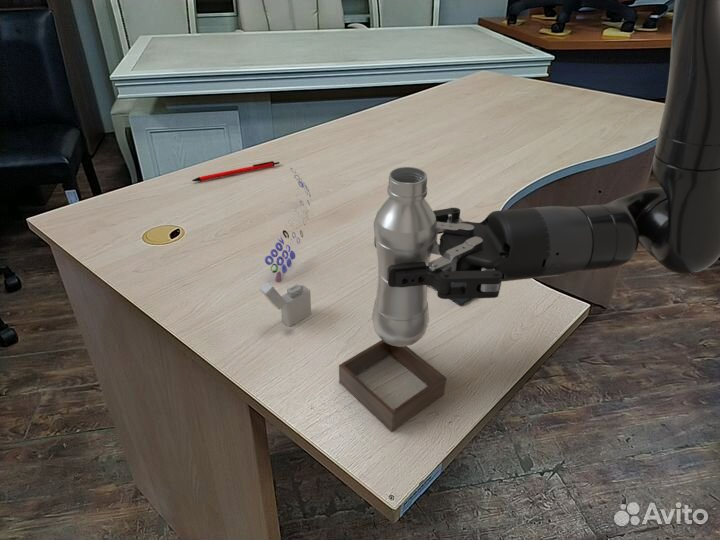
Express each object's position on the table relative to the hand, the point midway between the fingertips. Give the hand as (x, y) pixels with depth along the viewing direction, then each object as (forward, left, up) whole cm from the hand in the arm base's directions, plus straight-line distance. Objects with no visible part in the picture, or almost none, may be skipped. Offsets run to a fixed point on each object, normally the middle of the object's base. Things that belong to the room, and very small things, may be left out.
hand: (381, 257), depth 54 cm
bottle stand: (-2, -1, -19) cm, 19 cm away
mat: (+8, -23, -19) cm, 31 cm away
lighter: (+16, +2, -19) cm, 25 cm away
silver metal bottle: (-1, -2, -11) cm, 11 cm away
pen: (+62, -15, -19) cm, 67 cm away
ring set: (+33, -11, -19) cm, 40 cm away
